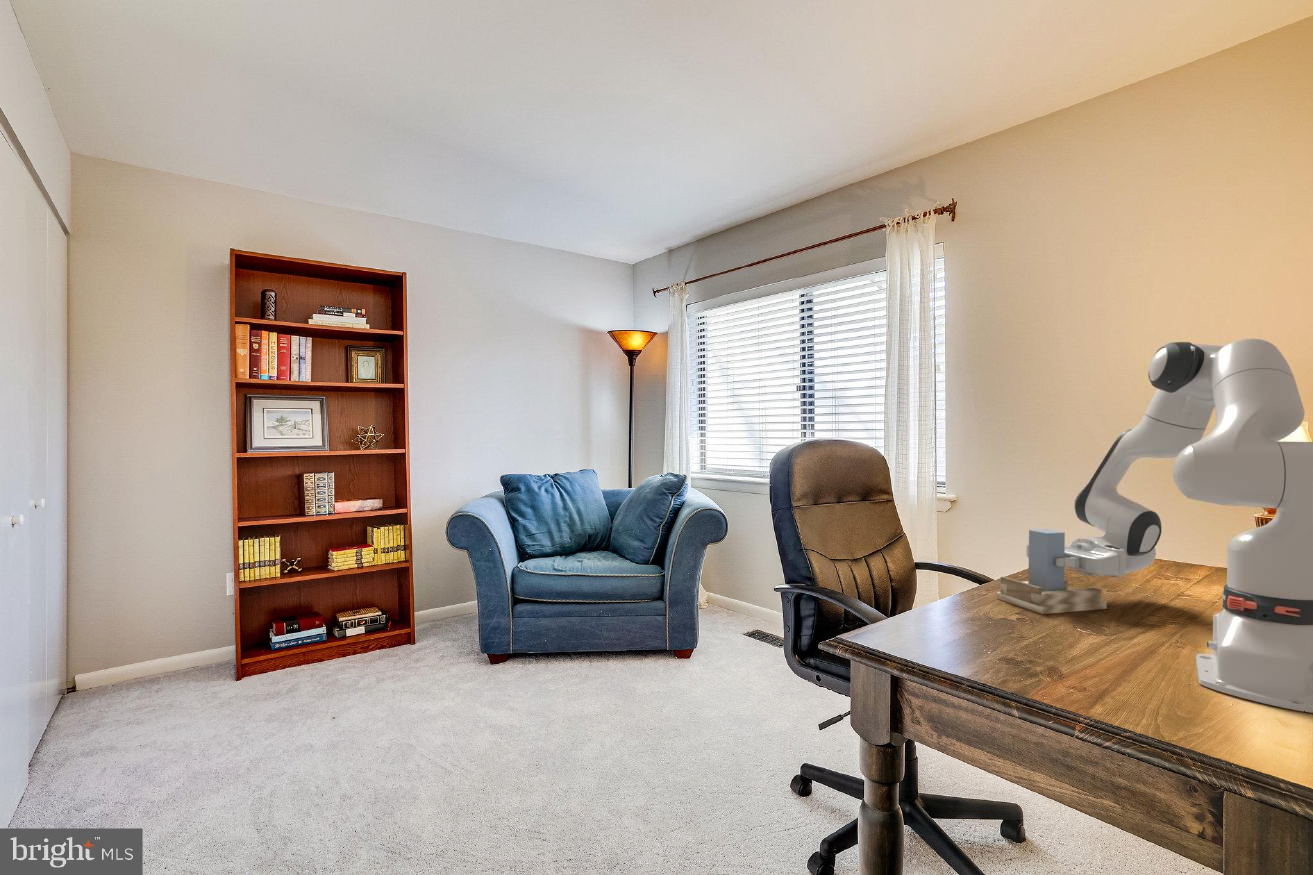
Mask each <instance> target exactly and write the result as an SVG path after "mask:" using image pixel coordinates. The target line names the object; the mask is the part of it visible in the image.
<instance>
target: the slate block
mask: <svg viewBox="0 0 1313 875" xmlns="http://www.w3.org/2000/svg"><path fill="white" fill-rule="evenodd" d="M1065 536H1066V533H1065V532H1063V531H1058V530H1053V529H1049V528H1048V529H1047V528H1044V529H1041V528H1040V529H1029V530H1028V543H1029V558H1028V576H1027V577H1028V584H1031V585H1035V586H1038V587H1041V588H1042V592H1045V591H1059V590H1064V580H1065V566H1056V565H1053V558H1054V557H1060V558H1064V555H1065V546H1066V545H1065V543H1066V542H1065V541H1066V538H1065Z"/></svg>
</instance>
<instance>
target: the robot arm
mask: <svg viewBox="0 0 1313 875" xmlns="http://www.w3.org/2000/svg"><path fill="white" fill-rule="evenodd" d="M1147 376H1148V380H1149V381H1150V383H1151V385H1152V386H1153V387H1154V388H1156V391H1155V393H1154V394H1153V396H1152V398H1151V400H1150V401H1149V403H1148V405H1147V408H1146V410H1145V411H1144V415H1143V417H1142V419H1140V421H1139V422H1138V423H1137V425H1136V426H1135V427H1133V428H1131V429H1127V430H1125V431H1123V432H1121V434H1120V435H1119V436H1118V437H1117V438H1116V440H1114V442H1113V444H1112V445H1111V447H1110V448H1109V450H1108V452H1107V453H1106V455H1105V456H1104V458H1103V459H1102V461H1101V462H1100V464H1099V466H1098V468H1097V469H1096V471H1095V472H1094V474H1093V476H1092V477H1091V479H1090V480H1089V482H1088V483H1087V484H1086V485H1085V486H1084V487H1083V488H1082V490H1081V491H1079V493H1078V495H1077V496H1076V498H1075V500H1074V511H1075V514H1076V516H1077V519H1079V521H1080V522H1083V523H1085V524H1086V525H1090V526H1092V527H1094V528H1097V529H1098V530H1100V531H1102V532H1103V533H1104V535H1103V536H1094V537H1093V536H1092V537H1091V536H1090V537H1080V538H1077V539H1074V540H1073V541H1072V542H1071V544H1070V546H1068V545H1065V555H1064V558H1060V557H1054V558H1053V565H1056V566H1064V568H1065V567H1066V568H1069V569H1072V570H1073V569H1074V570H1075V571H1077V572H1078V573H1079V574H1082V575H1083V576H1104V577H1106V576H1107V577H1112V578H1117V579H1119V578H1125V577H1126V573H1132V572H1138V571H1141V570H1144V569H1146V568H1147V567H1150V566H1151V565H1152V564H1153V562H1155V560H1156V557H1157V556H1156V555H1157V551H1156V546H1157V545H1158V543H1159V541H1160V538H1161V537H1162V536H1161V535H1162V521H1161V519H1160V516H1159V515H1158V513H1157V512H1155V511H1154V510H1152V509H1150V508H1148V507H1146V506H1144V505H1142V504H1140V503H1138V502H1135V501H1133V500H1131V499H1130V498H1127V497H1126V496H1123V495H1121V494H1120V493H1119V492H1118V489H1117V487H1118V485H1119V484H1120V482H1121V481H1122V479H1123V477H1124V476H1125V475H1126V473H1127V471H1128V470H1129V469H1130V467H1131V466H1132V464H1133V463H1134V462H1135V461H1137V460H1139V459H1141V458H1153V459H1154V458H1155V459H1170V458H1171V459H1172V458H1175V459H1174V461H1173V465H1172V478H1173V481H1174V483H1175V486H1176V487H1177V489H1178V490H1179V491H1180V492H1181V494H1183V495H1184V496H1185V497H1186V498H1187V499H1190V500H1195V501H1199V502H1204V503H1209V504H1215V505H1220V506H1228V507H1229V506H1232V507H1233V506H1234V507H1252V508H1273V509H1276V513H1275V515H1274V517H1273V519H1272V520H1270V521H1269V522H1268V523H1267V524H1265V525H1261V526H1258V527H1255V528H1251V529H1248V530H1244V531H1242V532H1240V533H1238V534H1237V535H1235V536H1234V537H1232V539H1231V540H1230V542H1228V545H1227V555H1226V556H1227V557H1226V558H1227V560H1226V562H1227V564H1226V565H1227V567H1226V568H1227V570H1226V574H1227V576H1226V584H1225V585H1223V592H1222V595H1221V596H1222V597H1221V598H1222V608H1223V610H1221V611H1219V612H1217V613H1216V614H1213V618H1212V619H1213V620H1212V623H1213V624H1212V641H1211V640H1208V642H1206V644H1207V645H1206V647H1207V648H1208V650H1212V654H1211V653H1197V654H1196V657H1195V663H1196V670H1197V671H1196V672H1197V678H1198V683H1199V684H1200V685H1202V686H1204V687H1206V688H1209V689H1211V690H1214V691H1217V692H1220V693H1224V694H1227V695H1230V696H1233V697H1236V698H1237V697H1238V698H1242V699H1245V700H1250V701H1252V702H1257V703H1261V704H1265V705H1270V706H1275V707H1279V708H1283V709H1288V710H1293V711H1298V712H1304V711H1305V713H1312V714H1313V441H1281V440H1284V439H1285V438H1287V437H1288V436H1290V435H1291V434H1292V433H1294V432H1295V431H1296V430H1298V428H1300V426H1301V425H1302V423H1303V421H1304V418H1305V415H1306V414H1305V408H1304V406H1303V401H1302V398H1301V395H1300V392H1299V389H1298V386H1297V382H1296V379H1295V376H1294V373H1293V371H1292V369H1291V367H1290V365H1289V363H1288V362H1287V360H1286V358H1285V357H1284V355H1283V354H1282V352H1281V351H1280V349H1279V348H1278V347H1277V346H1275V344H1273V343H1272V342H1270V341H1267V340H1264V339H1260V338H1243V339H1238V340H1235V341H1232V342H1230V343H1227V344H1225V345H1214V344H1204V343H1192V342H1189V341H1176V342H1169V343H1166V344H1164V345H1162V346H1161V347H1160V348H1158V349H1157V351H1156V352H1155V353H1154V355H1153V357H1152V359H1151V360H1150V363H1149V366H1148V374H1147ZM1214 409H1215V410H1214ZM1213 411H1215V424H1214V426H1213V429H1212V430H1211V431H1210V432H1209V433H1208V434H1207V435H1206V436H1204V434H1205V432H1206V430H1207V427H1208V425H1209V423H1210V420H1211V417H1212V414H1213ZM1203 436H1204V437H1203ZM1025 550H1026V557H1027V558H1028V559H1029V542H1028V543H1027V544H1026V549H1025Z"/></svg>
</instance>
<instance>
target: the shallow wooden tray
mask: <svg viewBox="0 0 1313 875" xmlns="http://www.w3.org/2000/svg"><path fill="white" fill-rule="evenodd" d="M1068 585H1069V584H1068V580H1066V579H1064V590H1059V591H1045V592H1042V588H1041V587H1038V586H1035V585H1031V584H1028V581H1021V580H1016V579H1014V578H1011V577H1007V576H1000V591H998V592H996V598H995V599H997V600H1000V601H1003V602H1005V603H1008V604H1011V605H1014V606H1018V607H1021V608H1023V609H1027V610H1030V611H1032V612H1035V613H1038V614H1041V615H1046V614H1059V613H1070V612H1071V613H1072V612H1082V611H1083V612H1084V611H1094V610H1095V611H1096V610H1105V609H1108V606H1107V603H1108V602H1107V601H1104V600H1102V598H1103V597H1102V596H1103V589H1100V588H1098V587H1090V588H1089V587H1088V588H1075V589H1072V588H1071V589H1068V587H1069V586H1068Z"/></svg>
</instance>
